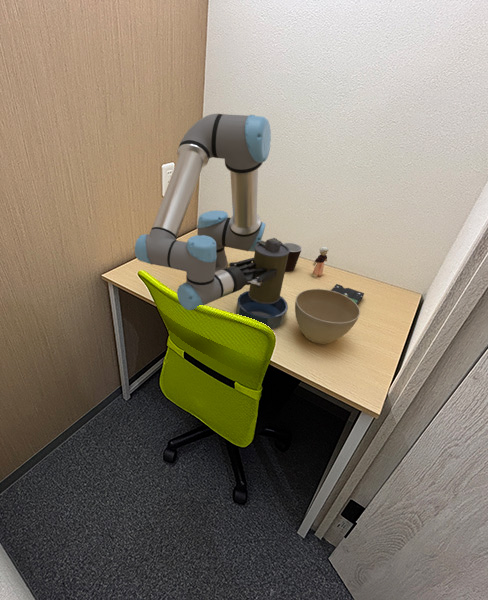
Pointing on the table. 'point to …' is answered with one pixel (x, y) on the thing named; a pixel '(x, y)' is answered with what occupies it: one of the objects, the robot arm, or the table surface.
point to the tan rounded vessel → (325, 314)
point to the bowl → (262, 310)
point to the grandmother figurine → (320, 262)
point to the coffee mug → (292, 256)
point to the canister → (269, 257)
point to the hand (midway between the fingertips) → (281, 260)
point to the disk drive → (349, 293)
